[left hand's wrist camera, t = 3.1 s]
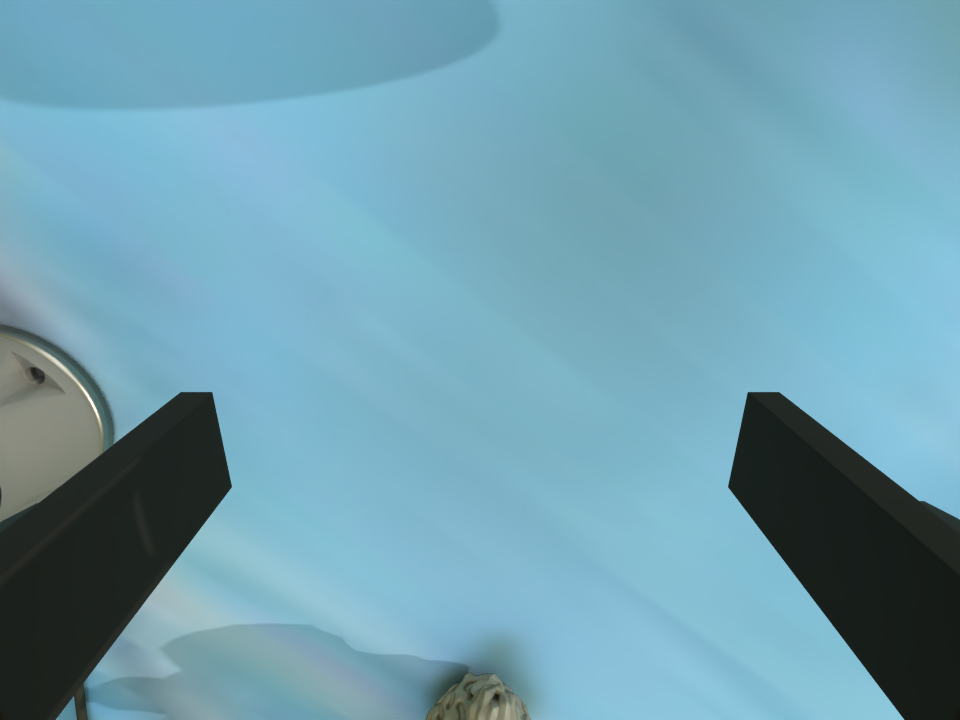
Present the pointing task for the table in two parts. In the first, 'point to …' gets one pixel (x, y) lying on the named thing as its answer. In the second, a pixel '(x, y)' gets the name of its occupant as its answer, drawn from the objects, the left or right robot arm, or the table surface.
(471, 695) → the cream patterned rounded piece
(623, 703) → the table surface
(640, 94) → the table surface
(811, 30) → the table surface
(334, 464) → the table surface
